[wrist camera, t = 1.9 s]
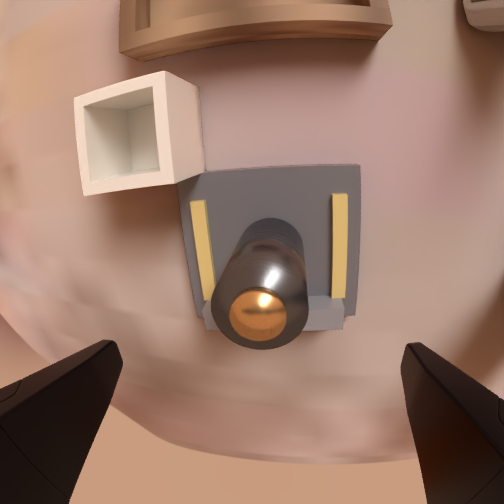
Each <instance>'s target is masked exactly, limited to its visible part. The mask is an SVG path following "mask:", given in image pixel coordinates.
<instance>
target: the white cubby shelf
mask: <svg viewBox="0 0 504 504" xmlns="http://www.w3.org/2000/svg"><path fill="white" fill-rule="evenodd" d="M74 113H75V128H76V140H77V150H78V159H79V167H80V174H81V181H82V188H83V194H84V196H88V195H94V194H100V193H106V192H113V191H120V190H127V189H134V188H141V187H149V186H157V185H166V184H174V183H177V182H180V181H182V180H185V179H187V178H190V177H192V176H195V175H198V174H200V173H203V172H206V166H205V156H204V145H203V134H202V123H201V111H200V99H199V88H198V87H196V86H195V85H193V84H191V83H189V82H187V81H185V80H183V79H181V78H179V77H177V76H175V75H173V74H171V73H169V72H167V71H165V70H164V71H160V72H156V73H152V74H148V75H144V76H140V77H136V78H133V79H129V80H126V81H123V82H119V83H116V84H113V85H110V86H107V87H104V88H101V89H98V90H95V91H92V92H89V93H86V94H84V95H81V96H78V97H76V98H74Z"/></svg>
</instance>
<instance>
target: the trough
mask: <svg viewBox="0 0 504 504" xmlns="http://www.w3.org/2000/svg"><path fill="white" fill-rule="evenodd" d="M392 26H393V23H392V18H391V14H390V9H389V5H388V1H387V0H120V23H119V53H122V54H124V55H127V56H129V57H131V58H134V59H136V60H138V61H141V62H144V61H148V60H151V59H155V58H159V57H163V56H167V55H172V54H176V53H181V52H185V51H190V50H195V49H201V48H206V47H212V46H218V45H225V44H232V43H240V42H249V41H259V40H271V39H287V38H350V39H366V40H378V41H379V40H380V39H381V38H382V36H383V35H384V34H385V33H386V32H387V31H388V30H389V29H390V28H391V27H392Z"/></svg>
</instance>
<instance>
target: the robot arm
mask: <svg viewBox="0 0 504 504" xmlns="http://www.w3.org/2000/svg"><path fill="white" fill-rule="evenodd" d="M122 367H123V360H122V357H121V354H120V352H119V349H118V346H117V344H116V342H115V341H113V340H101V341H99V342H97V343H95V344H93V345H91V346H89V347H87V348H85V349H83V350H81V351H79V352H77V353H75V354H73V355H71V356H69V357H67V358H64V359H62V360H60V361H58V362H56V363H54V364H52V365H50V366H48V367H46V368H44V369H42V370H40V371H37V372H35V373H33V374H31V375H29V376H27V377H25V378H23V379H22V380H18V381H17V382H14V383H12V384H10V385H8V386H5V387H3V388H1V389H0V504H69V501H70V500H69V499H70V498H71V496H72V493H73V490H74V488H75V485H76V482H77V479H78V478H79V475H80V472H81V470H82V467H83V465H84V463H85V460H86V458H87V455H88V453H89V450H90V448H91V446H92V443H93V441H94V438H95V436H96V434H97V432H98V429H99V427H100V425H101V423H102V420H103V418H104V416H105V414H106V411H107V409H108V406H109V404H110V402H111V399H112V396H113V393H114V390H115V387H116V384H117V381H118V379H119V376H120V373H121V370H122ZM401 376H402V382H403V388H404V394H405V401H406V407H407V413H408V418H409V422H410V426H411V430H412V434H413V438H414V442H415V446H416V450H417V454H418V459H419V463H420V467H421V473H422V478H423V483H424V488H425V493H426V498H427V504H504V400H503V399H502V398H499V396H497V395H496V394H494V393H493V392H492V391H490V390H489V389H487V388H486V387H484V386H483V385H482V384H480V383H479V382H477V381H476V380H474V379H473V378H471V377H470V376H469V375H467V374H466V373H464V372H463V371H461V370H460V369H458V368H457V367H456V366H454V365H453V364H451V363H450V362H448V361H447V360H445V359H444V358H442V357H441V356H440V355H438V354H437V353H435V352H434V351H432V350H431V349H429V348H428V347H426V346H425V345H423V344H422V343H420V342H415V343H408V344H407V345H406V347H405V351H404V355H403V359H402V363H401Z"/></svg>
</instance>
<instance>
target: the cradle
mask: <svg viewBox="0 0 504 504" xmlns="http://www.w3.org/2000/svg"><path fill="white" fill-rule="evenodd" d="M177 191H178V199H179V207H180V214H181V222H182V229H183V235H184V242H185V249H186V255H187V261H188V267H189V273H190V279H191V285H192V291H193V296H194V302H195V307H196V313H197V317H202V318H204V324H205V329H206V330H208V331H220V329H219V328H218V327H217V325H216V323H215V321H214V319H213V316H212V313H211V297H212V294H213V291H214V289H215V287H216V285H217V283H218V281H219V279H220V277H221V275H222V273H223V271H224V269H225V267H226V265H227V263H228V261H229V259H230V257H231V255H232V254H233V252H234V250H235V248H236V246H237V244H238V242H239V240H240V238H241V236H242V234H243V233H244V231H245V230H246V228H247V227H248V226H249V225H251V224H252V223H254V222H255V221H258V220H260V219H264V218H277V219H281V220H284V221H286V222H288V223H289V224H291V225H292V226H293V227H294V228H295V229H296V230H297V231H298V232H299V234H300V236H301V238H302V241H303V248H304V258H305V268H306V279H307V291H308V304H309V315H308V320H307V323H306V325H305V327H304V329H303V330H302V331H316V330H340V329H343V322H344V316H352V315H355V311H356V300H357V287H358V272H359V254H360V223H361V176H360V165H358V164H317V165H288V166H268V167H252V168H239V169H226V170H215V171H206V172H203V173H200V174H198V175H195V176H192V177H190V178H187V179H185V180H182V181H180V182H177Z"/></svg>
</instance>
